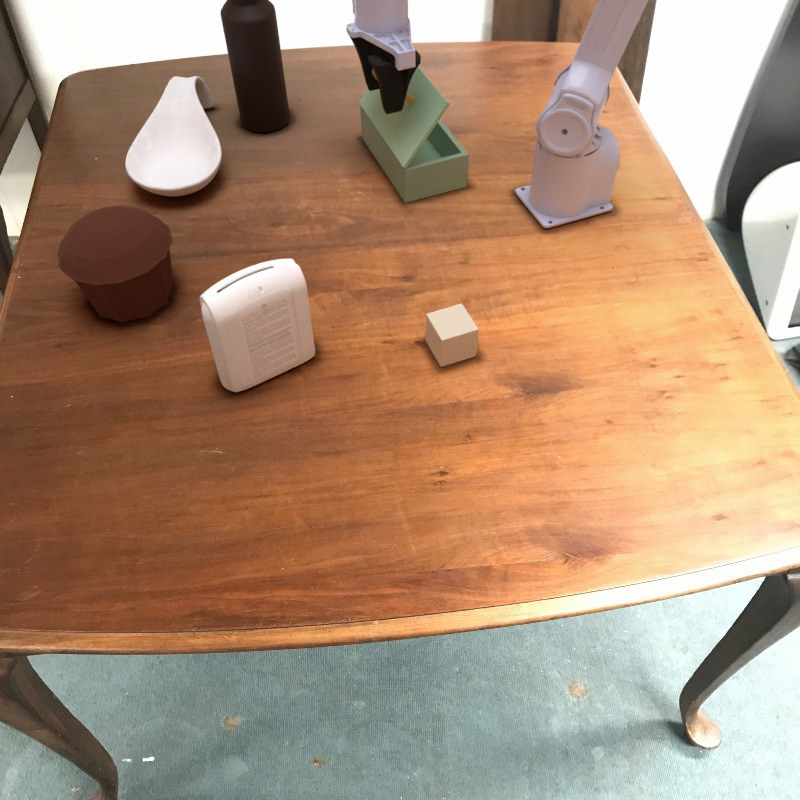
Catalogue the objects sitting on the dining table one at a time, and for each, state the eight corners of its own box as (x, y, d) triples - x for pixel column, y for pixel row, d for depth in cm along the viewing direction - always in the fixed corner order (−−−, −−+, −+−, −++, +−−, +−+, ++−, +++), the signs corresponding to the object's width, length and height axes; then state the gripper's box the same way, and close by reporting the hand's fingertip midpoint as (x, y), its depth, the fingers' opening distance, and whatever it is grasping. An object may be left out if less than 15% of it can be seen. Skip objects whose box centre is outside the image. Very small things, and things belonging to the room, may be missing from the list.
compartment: (419, 124, 106) (419, 92, 102) (467, 187, 97) (469, 154, 93) (361, 138, 104) (360, 105, 100) (405, 203, 95) (404, 170, 91)
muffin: (98, 346, 81) (65, 273, 73) (64, 285, 86) (30, 212, 79) (203, 301, 85) (182, 228, 77) (164, 246, 90) (140, 173, 83)
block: (460, 330, 81) (462, 302, 78) (476, 356, 79) (479, 329, 76) (425, 340, 80) (425, 313, 77) (440, 367, 78) (441, 340, 75)
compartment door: (399, 42, 96) (371, 25, 93) (450, 103, 87) (420, 87, 84) (361, 104, 100) (333, 90, 97) (406, 168, 91) (376, 155, 88)
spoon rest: (222, 209, 95) (210, 158, 89) (126, 213, 95) (108, 162, 89) (238, 105, 110) (228, 56, 104) (154, 108, 109) (140, 59, 104)
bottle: (300, 115, 108) (280, -38, 92) (269, 139, 104) (244, -16, 89) (261, 102, 110) (237, -50, 95) (230, 125, 107) (199, -29, 91)
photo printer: (302, 332, 82) (288, 239, 72) (323, 357, 79) (310, 264, 70) (213, 373, 78) (185, 281, 68) (232, 400, 76) (205, 310, 66)
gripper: (323, -41, 85) (333, 77, 96) (369, 16, 77) (374, 138, 87) (383, -52, 87) (386, 65, 97) (434, 3, 78) (432, 124, 89)
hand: (384, 99), depth 92 cm, fingers closed on compartment door, 5 cm apart
